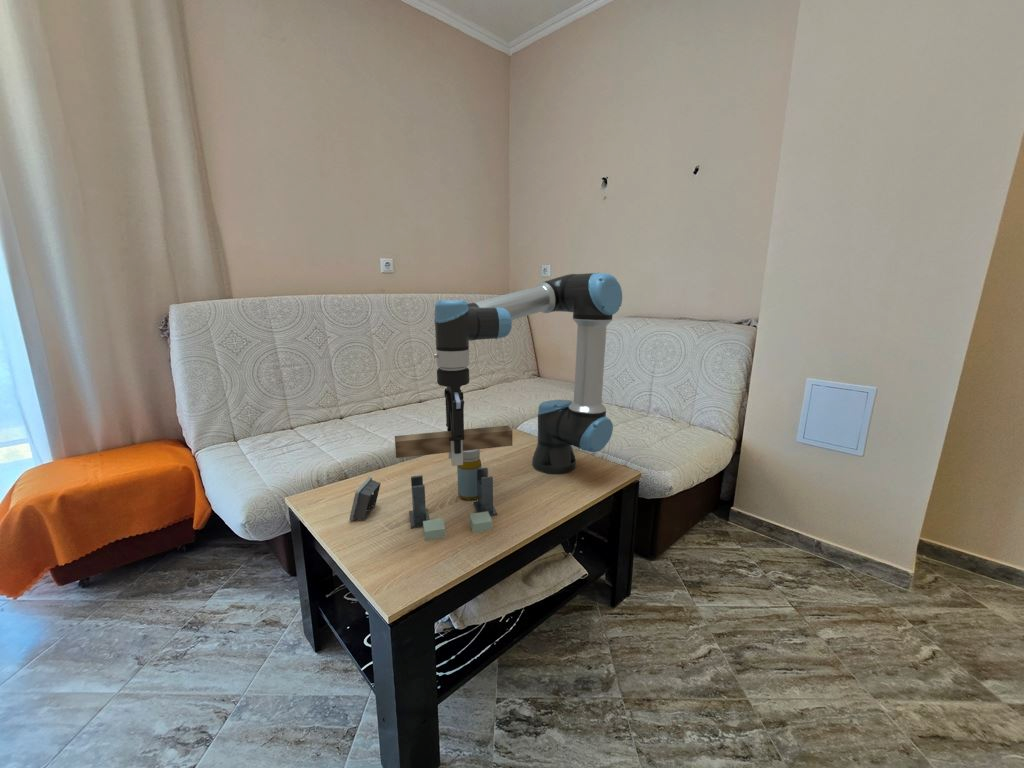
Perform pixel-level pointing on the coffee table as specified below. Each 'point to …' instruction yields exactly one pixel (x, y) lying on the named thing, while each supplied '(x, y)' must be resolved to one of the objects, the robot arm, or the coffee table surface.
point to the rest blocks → (437, 528)
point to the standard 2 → (484, 492)
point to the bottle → (468, 474)
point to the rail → (441, 443)
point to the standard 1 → (418, 503)
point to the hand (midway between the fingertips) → (455, 460)
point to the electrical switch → (365, 499)
